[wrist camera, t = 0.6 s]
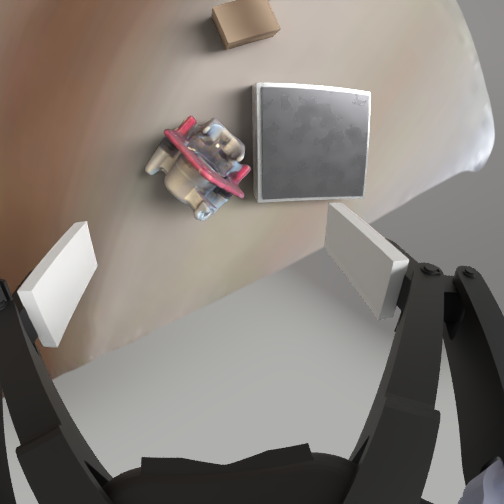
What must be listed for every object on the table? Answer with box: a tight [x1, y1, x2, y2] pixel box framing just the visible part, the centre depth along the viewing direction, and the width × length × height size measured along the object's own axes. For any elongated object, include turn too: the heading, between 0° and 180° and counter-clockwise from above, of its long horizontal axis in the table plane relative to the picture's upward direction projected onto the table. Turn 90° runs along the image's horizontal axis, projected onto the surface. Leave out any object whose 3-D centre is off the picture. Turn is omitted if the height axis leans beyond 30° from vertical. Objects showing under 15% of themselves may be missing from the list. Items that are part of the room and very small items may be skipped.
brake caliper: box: [145, 116, 251, 221], centre depth 32 cm, size 11×11×12 cm
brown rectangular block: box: [212, 0, 280, 50], centre depth 26 cm, size 6×5×4 cm
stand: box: [252, 83, 371, 203], centre depth 34 cm, size 14×14×4 cm
